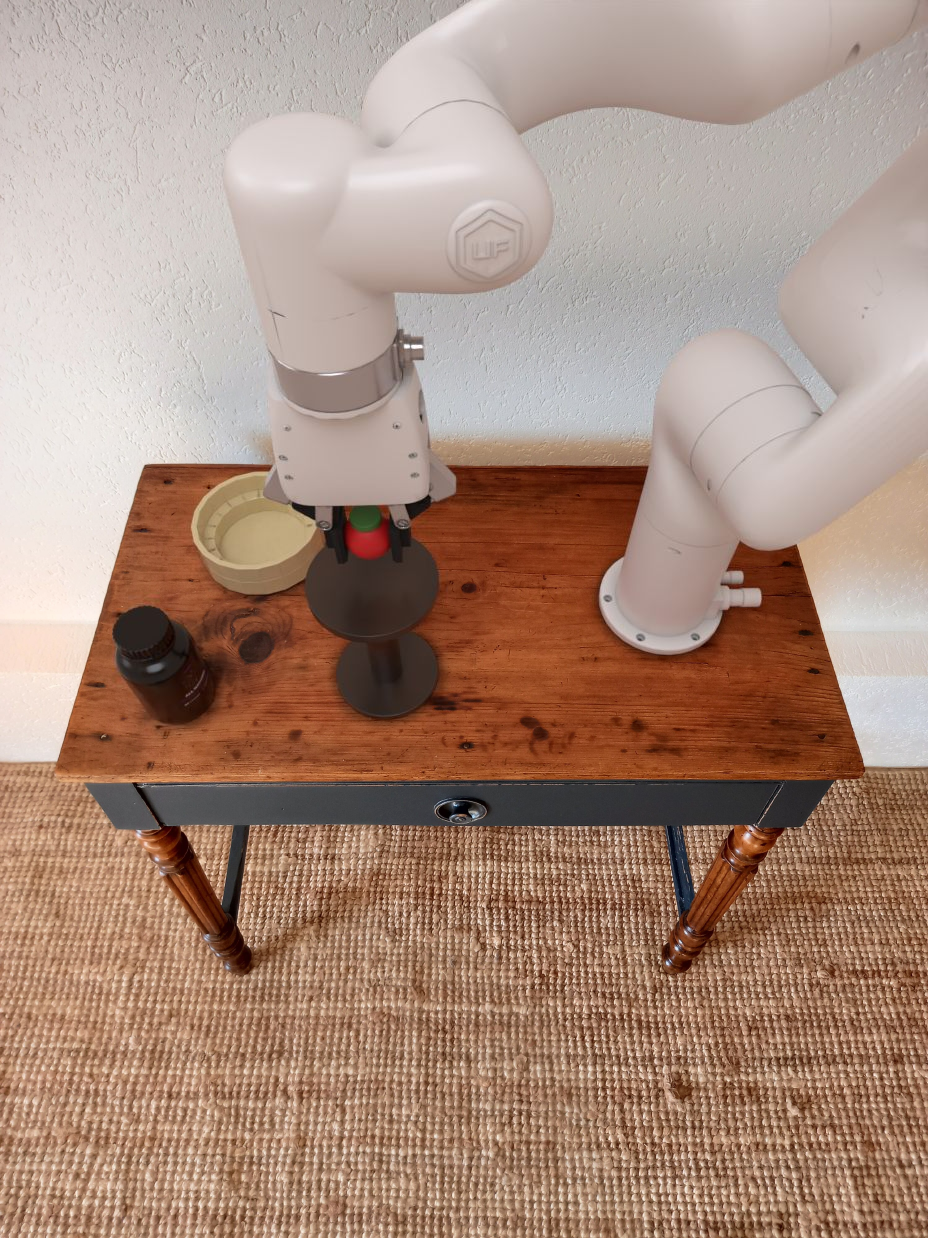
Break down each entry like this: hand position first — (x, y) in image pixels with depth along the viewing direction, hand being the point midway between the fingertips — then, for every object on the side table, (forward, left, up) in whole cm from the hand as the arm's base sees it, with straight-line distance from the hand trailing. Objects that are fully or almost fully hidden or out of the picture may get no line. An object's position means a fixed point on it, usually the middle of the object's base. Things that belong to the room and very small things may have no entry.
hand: (371, 547), depth 62 cm
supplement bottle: (+20, +2, -20) cm, 29 cm away
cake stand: (0, 0, -20) cm, 20 cm away
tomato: (0, 0, 0) cm, 0 cm away
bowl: (+14, -16, -20) cm, 29 cm away
